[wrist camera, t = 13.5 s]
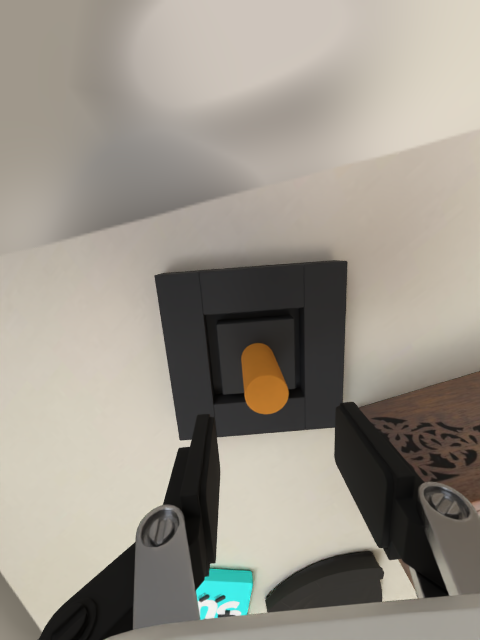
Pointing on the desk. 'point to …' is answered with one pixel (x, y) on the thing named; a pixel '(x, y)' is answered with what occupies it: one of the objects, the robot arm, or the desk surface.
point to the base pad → (246, 302)
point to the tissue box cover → (436, 434)
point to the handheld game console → (224, 593)
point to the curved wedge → (330, 584)
